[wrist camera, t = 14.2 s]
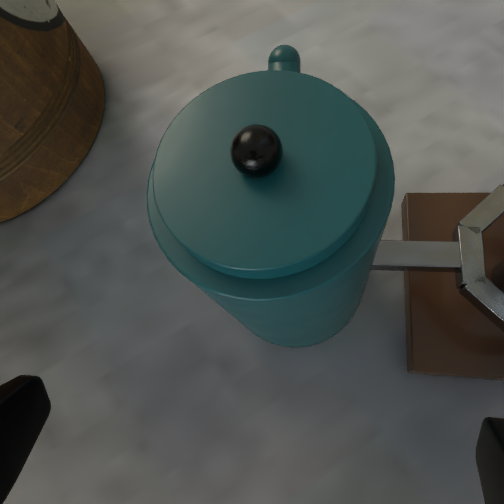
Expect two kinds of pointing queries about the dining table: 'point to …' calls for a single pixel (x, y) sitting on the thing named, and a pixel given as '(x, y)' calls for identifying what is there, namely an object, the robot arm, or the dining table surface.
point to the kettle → (294, 206)
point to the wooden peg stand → (450, 294)
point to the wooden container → (43, 103)
